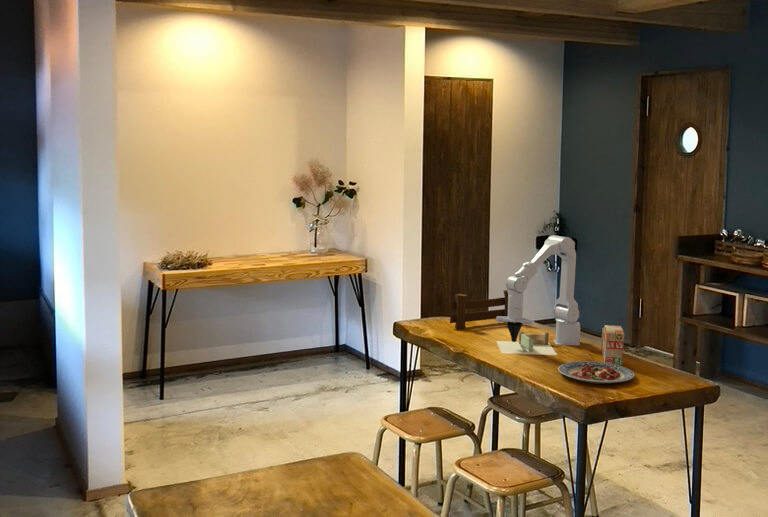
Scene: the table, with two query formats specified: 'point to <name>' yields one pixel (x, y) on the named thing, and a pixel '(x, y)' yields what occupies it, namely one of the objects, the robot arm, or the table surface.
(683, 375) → the table surface
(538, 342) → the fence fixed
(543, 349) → the card
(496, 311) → the decorative fence
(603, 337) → the stack of blocks
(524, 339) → the pale green bar
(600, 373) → the ceramic plate
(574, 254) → the robot arm
